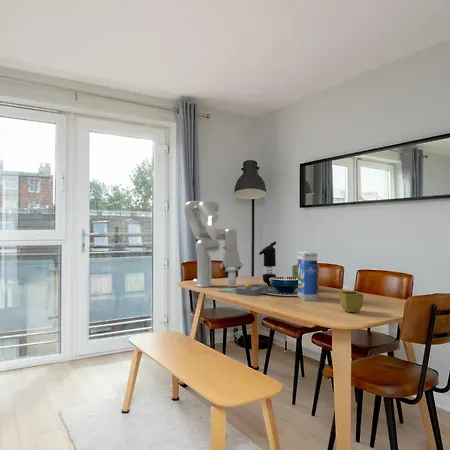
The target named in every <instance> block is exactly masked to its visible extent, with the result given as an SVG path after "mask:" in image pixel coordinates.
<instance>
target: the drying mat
mask: <svg viewBox="0 0 450 450" xmlns="http://www.w3.org/2000/svg"><path fill="white" fill-rule="evenodd" d="M237 288H238V287H236V288H234V287H225V288H222V289H218V290H217V291H218V292H221V293H223V292H224V293H231V294H233V293H234V294H235V293H236V294H237Z"/></svg>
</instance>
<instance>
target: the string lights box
mask: <svg viewBox="0 0 450 450" xmlns="http://www.w3.org/2000/svg"><path fill="white" fill-rule="evenodd" d="M297 265H298V291H297V297H299V298H300V299H301V300H303V301H305V302H306V301H318V292H317V265H318V253H317V252H315V251H314V252H313V251H309V250H306V251H305V250H303V251H299V250H298V251H297Z"/></svg>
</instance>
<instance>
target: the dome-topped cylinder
mask: <svg viewBox="0 0 450 450" xmlns="http://www.w3.org/2000/svg"><path fill="white" fill-rule="evenodd" d="M227 272H228V278H226V285H227V286H235V285H236V286H237V278H236V269H227Z"/></svg>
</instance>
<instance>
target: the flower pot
mask: <svg viewBox="0 0 450 450" xmlns="http://www.w3.org/2000/svg"><path fill="white" fill-rule="evenodd" d="M338 294H339V295H338V296H339V302H340V306H341V308H342V309H343V311H344V310H345V311H344V312H346V311H347V313H348V312H354V313H356V312H358V313H359V312H360V311H361V309H362V307H363V304H364V295H365V293H362V292H359V291H355V290H351V291H350V290H349V291H348V290H346V291H338Z"/></svg>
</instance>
